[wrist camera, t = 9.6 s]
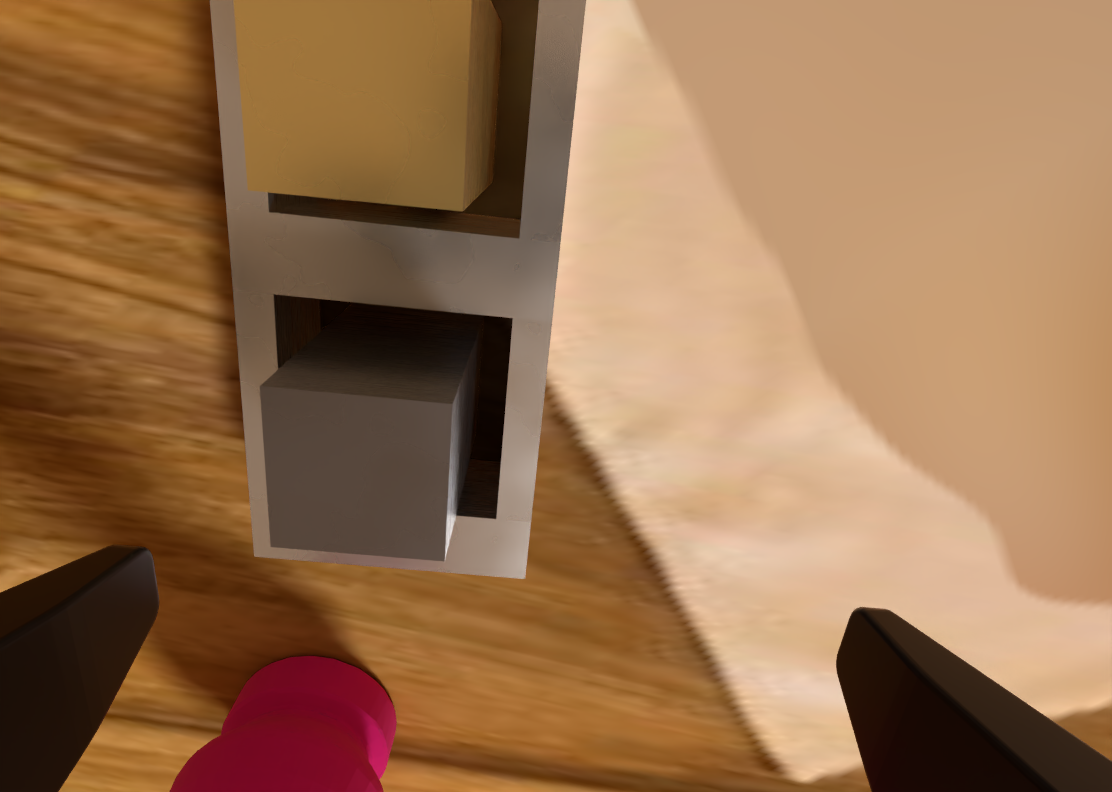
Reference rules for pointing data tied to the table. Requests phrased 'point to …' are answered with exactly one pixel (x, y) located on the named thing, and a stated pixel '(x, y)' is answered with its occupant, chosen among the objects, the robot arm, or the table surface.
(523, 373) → the grey slotted block holder
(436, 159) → the wooden toy block
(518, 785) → the table surface
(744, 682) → the table surface
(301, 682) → the pepper mill
